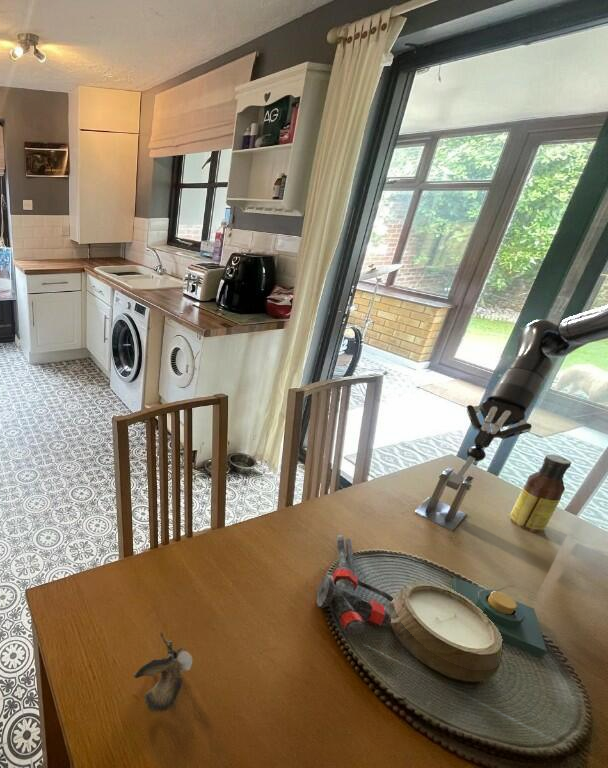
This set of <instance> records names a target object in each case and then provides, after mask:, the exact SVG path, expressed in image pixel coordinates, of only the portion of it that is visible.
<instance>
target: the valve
mask: <svg viewBox="0 0 608 768" xmlns="http://www.w3.org/2000/svg"><path fill="white" fill-rule="evenodd" d="M336 543H337V552H338V563H339V565H338V567H337V568H335V570H334V572H333V574H332V575H331V574H329V573H326V574H324V576H323V577H322V579H321V580H320V583H319V586H318V589H317V593H316V604H317V607H318V608H321V609H324V608H326V607H327V606H328V605H330V606H331V608H332V610H333V612H334V613H335V615H336V617H337V618H338V619H339V622H340V625H341V627H343V629H344V630H345V631H347V632H348V633H349V634H352V635H359V634H361V633H362V632H363V631H364V629H365V625H364V622H365V623H366V622H367V623H368V622H369V623H368V624H370V623H371V624H370V625H373V624H374V625H373V626H375V625H376V626H375V627H380V626H383V627H386V626H388V625H389V624H391V623H390V622H391V618H392V617H391V614H390V612H389V611H388V610H387V609H385V606H384V605H383V604H382V603H380V602H377V601H374V600H369V601H368V600H367V599H365V598H362V597H361V596H360V595H359V594H356V590H357V587H358V586H359V587H362V588H364V589H366V590H368V591H371V592H373V593H374V594H377V595H379V596H381V597H383V598H384V599H386V600H387V601H389V602H390V603H391V601H392V600H393V599H395V597H393V596H392V595H390V594H389V593H388V592H386V591H385V590H382V589H381V588H377V587H376V586H373V585H371V584H369V583H367V582H364V581H362V580H361V579H359V578H358V577H357V575H356V571H355V564H354V557H353V549H352V548H353V547H352V540H351V539H350V538H345V539H344V536H343V535H342V534H338V535H336ZM345 545H346V546H345ZM345 547H346V548H345ZM345 549H346V550H345ZM346 556H347V557H346ZM347 563H348V567H347ZM390 617H391V618H390ZM363 619H364V620H363Z"/></svg>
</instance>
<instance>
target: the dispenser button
mask: <svg viewBox="0 0 608 768" xmlns="http://www.w3.org/2000/svg"><path fill="white" fill-rule="evenodd" d="M493 591H494V592H492V593H491V594H490V596H489V598H488V603H489V604H490V606H491V607H493V608H494V609H496V610H497V611H499V612H501V613H504V614H507V615H510V614H512V613H513V612H514V610H515V609H516V607H517V605H516V603H515V601H516V600H514V599H513V598H512V597H510V596H509V595H508V594H505V593H504V592H500V591H495V590H493Z"/></svg>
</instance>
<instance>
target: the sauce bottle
mask: <svg viewBox="0 0 608 768" xmlns="http://www.w3.org/2000/svg"><path fill="white" fill-rule="evenodd" d="M571 465H572V461H571V460H569V459H568V458H566V457H564V456H561V455H557V454H546V455H545V456H544V458H543V464H542V465H541V467H540V468H539V469H538V471H537V472H534V473H532V474H530V475H529V476H528V477H527V480H526V482H525V484H524V485H523V487H522V489H521V491H520V493H519V495H518V497H517V500H516V502H515V503H514V506H513V508H512V510H511V512H510V514H509V520H510V521H511V523H513V524H514V525H515V526H517V527H519V528H521V529H523V530H525V531H527V532H531V533H538V534H539V533H542V532H544V530H545V529H546V527H547V526H548V524H549V522H550V520H551V518H552V517H553V514H554V512H555V511H556V509H557V507H558V505H559V503H560V501H561V499H562V496H563V493H564V492H565V491H566V488H565V484H564V483H565V482H564V477H565V474H566V472H567V470H568V469H569V468H570V467H571Z"/></svg>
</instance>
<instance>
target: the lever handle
mask: <svg viewBox="0 0 608 768" xmlns="http://www.w3.org/2000/svg"><path fill="white" fill-rule="evenodd" d="M486 455H487V454H486V451H485V450H484V448H483V449H482V448H479V447H476V446H471V447H469V448H468V449H466V451H465V456H466V457H467V460H466V461H465V462H464V464H463V465H462V467H461V468H460V469H459V470H458V472H457V473H455V472H452V474H451V476H450V478H449V479H448V481H447V484H446V487H448V488H449V489H452V490H455V491H458V490H459V488H460V486H461V484H462V482H463V481H464V480H465V474H466V473H467V472H468V471H469V469H470V468H471V466H472V465H473V464H474V463H475V462H481V461H484V460H485V458H486Z"/></svg>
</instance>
